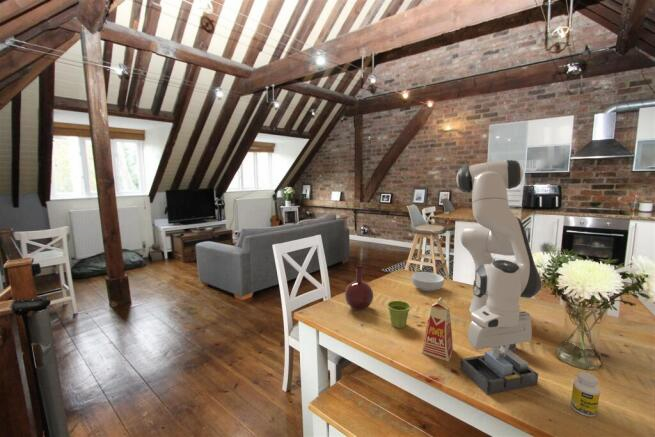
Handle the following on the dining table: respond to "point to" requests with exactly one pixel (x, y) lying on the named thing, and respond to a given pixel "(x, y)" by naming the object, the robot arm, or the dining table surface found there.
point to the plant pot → (398, 313)
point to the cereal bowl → (427, 281)
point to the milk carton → (438, 332)
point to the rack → (493, 380)
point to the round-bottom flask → (359, 292)
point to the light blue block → (498, 364)
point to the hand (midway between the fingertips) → (498, 356)
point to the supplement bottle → (585, 394)
